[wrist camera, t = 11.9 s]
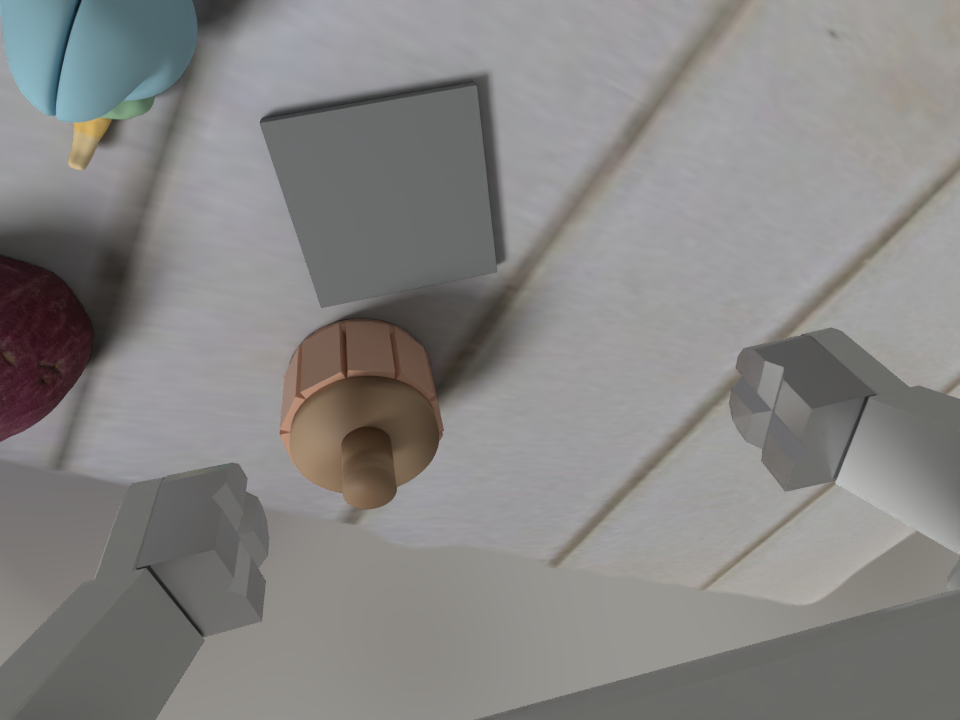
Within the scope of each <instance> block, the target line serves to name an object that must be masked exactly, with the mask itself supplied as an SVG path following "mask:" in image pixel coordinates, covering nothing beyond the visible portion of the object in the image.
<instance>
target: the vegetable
mask: <svg viewBox="0 0 960 720" xmlns="http://www.w3.org/2000/svg"><path fill="white" fill-rule="evenodd" d="M92 344H93V328H92V325H91V320H90V319H89V317H88V315H87V314H86V312H85V310H84V309H83V307H82V305H81V304H80V302H79V300H78V299H77V297H76V296H75V295H74V293H73V292H72V290H71V289H70V288H69V287H68V286H67V284H65V282H64V281H62V280H61V279H60V278H58V277H57V276H56V275H54V273H51V272H50V271H48V270H46V269H44V268H40V267H37V266H34V265H32V264H28V263H26V262H23V261H18V260H15V259H12V258H8V257H4V256H2V255H0V442H1V441H3V440H5V439H7V438H8V437H11V436H13V435H16V434H18V433H20V432H22V431H24V430H26V429H28V428H30V427H31V426H33V425H34V424H36V423H38V422H39V421H40V420H41V419H43V418H44V417H45V416H46V415H48V414H49V413H50V412H51V411H52V410H53V409H54V408H55V407H56V406H57V405H58V404H59V403H60V401H61V400H62V399H63V398H64V397H65V395H66V394H67V393H68V391H69V390H70V389H71V388H72V387H73V386H74V384H75V383H76V381H77V380H78V379H79V377H80V376H81V374H82V372H83V371H84V369H85V366H86V364H87V362H88V359H89V357H90V356H91V350H92Z"/></svg>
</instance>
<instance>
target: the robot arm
mask: <svg viewBox="0 0 960 720" xmlns="http://www.w3.org/2000/svg"><path fill="white" fill-rule="evenodd" d="M736 369H737V370H738V371H739V373H740V374H741V375H742V377H741V378H740V379H739V380H738V381H737V383H736V384H735V385H734V386H733V387H732V389H731V395H730V402H729V405H730V410H731V415H732V419H733V421H734V424H735V426H736V428H737V430H738V431H739V433H740V434H741V435H742V437H743V438H744V439H745V441H746V442H748V443H750V444H753V445H755V446H757V447H759V448H761V449H762V459H761V461H762V463H763V464H764V465H765V466H766V468H767V469H768V470H769V471H770V473H771V474H772V475H773V477H774V478H775V479H776V480H777V482H778V483H779V484H780V485H781V487H782V488H783V489H784V491H785V492H786V491H790V490H795V489H800V488H804V487H809V486H813V485H818V484H822V483H827V482H832V481H836V482H835V483H836V484H837V485H839V486H841V487H843V488H844V489H846V490H848V491H849V492H851V493H853V494H855V495H856V496H858V497H860V498H862V499H863V500H865V501H867V502H869V503H870V504H872V505H874V506H875V507H877V508H879V509H881V510H882V511H884V512H886V513H888V514H889V515H891V516H893V517H895V518H896V519H898V520H900V521H901V522H903V523H905V524H907V525H908V526H910V527H912V528H914V529H915V530H917V531H919V532H921V533H922V534H924V535H926V536H928V537H929V538H931V539H933V540H934V541H936V542H938V543H940V544H941V545H943V546H945V547H947V548H948V549H950V550H952V551H954V552H955V553H957V554H959V555H960V399H958V398H955V397H952V396H949V395H946V394H943V393H940V392H937V391H934V390H931V389H928V388H925V387H922V386H914V387H909V386H907V385H906V384H905V383H904V382H903V381H901V380H900V379H899V378H898V377H897V376H895V375H894V374H893V373H892V372H890V371H889V370H888V369H887V368H886V367H884V366H883V365H882V364H881V363H880V362H878V361H877V360H876V359H875V358H874V357H872V356H871V355H870V354H869V353H867V352H866V351H865V350H864V349H863V348H861V347H860V346H859V345H858V344H857V343H855V342H854V341H853V340H852V339H851V338H849V337H848V336H847V335H846V334H844V333H843V332H842V331H840V330H838V329H834V328H827V329H823V330H819V331H814V332H810V333H806V334H802V335H801V336H794V337H790V338H786V339H781V340H777V341H773V342H769V343H764V344H760V345H756V346H751V347H747V348H744V349H743V350H742V351H741V353H740V354H739V355H738V359H737V364H736ZM246 486H247V477H246V475H245V473H244V472H243V470H242V468H241V467H240V465H239V464H237V463H229V464H223V465H218V466H213V467H208V468H203V469H198V470H193V471H188V472H183V473H178V474H173V475H168V476H166V477H163V478H158V479H152V480H147V481H142V482H137V483H132V484H131V485H130V486H129V487H128V488H127V489H126V490H125V492H124V494H123V497H122V500H121V503H120V506H119V509H118V512H117V515H116V518H115V520H114V524H113V526H112V529H111V532H110V535H109V538H108V541H107V544H106V547H105V550H104V552H103V555H102V558H101V561H100V564H99V567H98V570H97V572H96V576H95V578H94V580H92V581H87V582H84V583H82V584H81V585H80V586H79V587H78V588H77V589H76V590H75V591H74V592H73V593H72V594H71V595H70V596H69V597H68V599H66V600H65V601H64V602H63V604H61V606H60V607H59V608H58V609H57V610H56V611H55V612H54V613H53V614H52V615H51V616H50V617H49V618H48V619H47V620H46V621H45V622H44V623H43V624H42V625H41V626H40V627H39V628H38V629H37V630H36V631H35V632H34V633H33V634H32V635H31V636H30V637H29V638H28V639H27V640H26V641H25V642H24V643H23V644H22V645H21V646H20V647H19V648H18V649H17V650H16V651H15V652H14V653H13V654H12V656H10V658H8V660H7V661H6V662H5V663H4V664H3V665H2V666H1V667H0V720H155V719H156V718H157V716H158V715H159V713H160V711H161V710H162V708H163V706H164V705H165V703H166V702H167V700H168V699H169V697H170V695H171V694H172V692H173V691H174V689H175V687H176V686H177V684H178V683H179V681H180V679H181V678H182V676H183V675H184V673H185V671H186V670H187V668H188V666H189V665H190V663H191V662H192V660H193V658H194V657H195V655H196V654H197V652H198V650H199V649H200V647H201V646H202V644H203V642H204V638H203V637H206V636H210V635H214V634H217V633H221V632H225V631H228V630H232V629H235V628H239V627H243V626H246V625H250V624H254V623H257V622H261V621H262V615H263V605H264V594H265V584H266V581H265V579H264V577H263V575H262V574H261V572H260V570H259V569H258V568H259V567H260V565H261V564H262V563H263V561H264V560H265V559H266V557H267V556H268V548H269V534H268V526H267V519H266V516H265V512H264V509H263V507H262V505H261V503H260V501H259V499H258V497H256V496H254V495H252V494H250V493H248V492H246ZM946 586H947V587H948V588H949V590H950V591H949V592H945V593H941V594H938V595H934V596H930V597H927V598H923V599H919V600H915V601H912V602H908V603H905V604H901V605H897V606H893V607H890V608H886V609H882V610H878V611H875V612H871V613H867V614H863V615H860V616H856V617H852V618H849V619H845V620H841V621H838V622H834V623H830V624H826V625H823V626H819V627H815V628H812V629H808V630H804V631H801V632H797V633H793V634H790V635H786V636H782V637H778V638H775V639H771V640H768V641H764V642H760V643H756V644H753V645H749V646H745V647H741V648H738V649H734V650H730V651H726V652H723V653H719V654H715V655H712V656H708V657H704V658H701V659H697V660H693V661H690V662H686V663H682V664H678V665H675V666H671V667H667V668H663V669H660V670H656V671H653V672H649V673H645V674H641V675H638V676H634V677H630V678H627V679H623V680H619V681H616V682H612V683H608V684H604V685H601V686H597V687H593V688H590V689H586V690H582V691H578V692H575V693H572V694H568V695H564V696H560V697H556V698H553V699H549V700H546V701H542V702H538V703H535V704H531V705H527V706H523V707H519V708H516V709H512V710H508V711H505V712H501V713H497V714H493V715H490V716H486V717H482V718H479V719H475V720H960V559H959V560H958V562H957V563H956V565H955V566H954V568H953V569H952V571H951V572H950V574H949V575H948V577H947V583H946Z"/></svg>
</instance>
